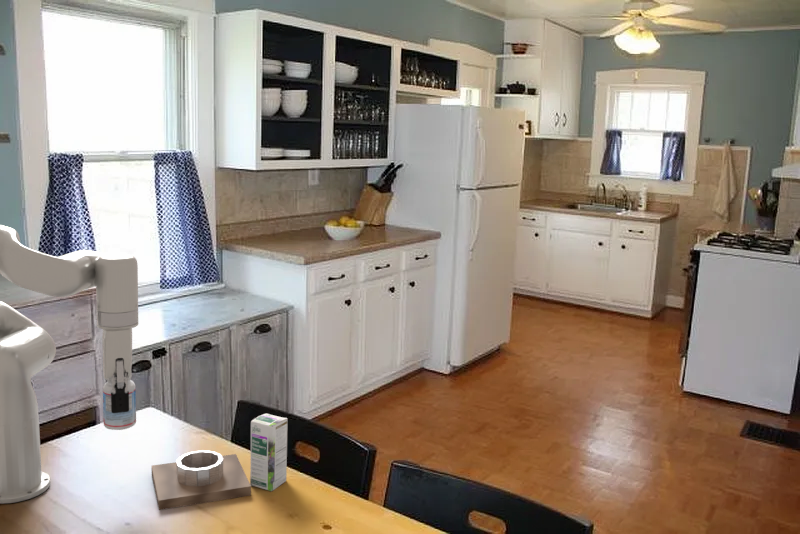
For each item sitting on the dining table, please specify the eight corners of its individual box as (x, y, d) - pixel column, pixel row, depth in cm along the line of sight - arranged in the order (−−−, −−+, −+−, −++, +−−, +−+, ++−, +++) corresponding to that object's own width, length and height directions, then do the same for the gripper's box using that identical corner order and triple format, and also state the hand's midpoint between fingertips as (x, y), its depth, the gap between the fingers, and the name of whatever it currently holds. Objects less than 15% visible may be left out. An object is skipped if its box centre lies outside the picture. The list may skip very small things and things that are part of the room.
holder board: (158, 510, 142) (158, 500, 141) (151, 474, 156) (151, 465, 156) (250, 495, 149) (250, 486, 148) (235, 462, 163) (235, 454, 163)
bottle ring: (180, 489, 146) (179, 472, 145) (174, 469, 154) (174, 454, 154) (226, 482, 150) (226, 466, 149) (218, 463, 158) (218, 448, 157)
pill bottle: (113, 417, 148) (112, 365, 146) (141, 420, 147) (141, 367, 145) (97, 429, 142) (96, 374, 140) (126, 432, 141) (125, 377, 139)
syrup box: (249, 485, 153) (249, 420, 150) (265, 474, 158) (266, 411, 155) (271, 492, 150) (272, 426, 148) (287, 480, 155) (288, 416, 153)
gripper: (95, 308, 147) (98, 392, 150) (97, 330, 131) (100, 424, 135) (135, 306, 150) (136, 389, 153) (141, 328, 134) (142, 419, 138)
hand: (119, 404), depth 144 cm, fingers closed on pill bottle, 6 cm apart
